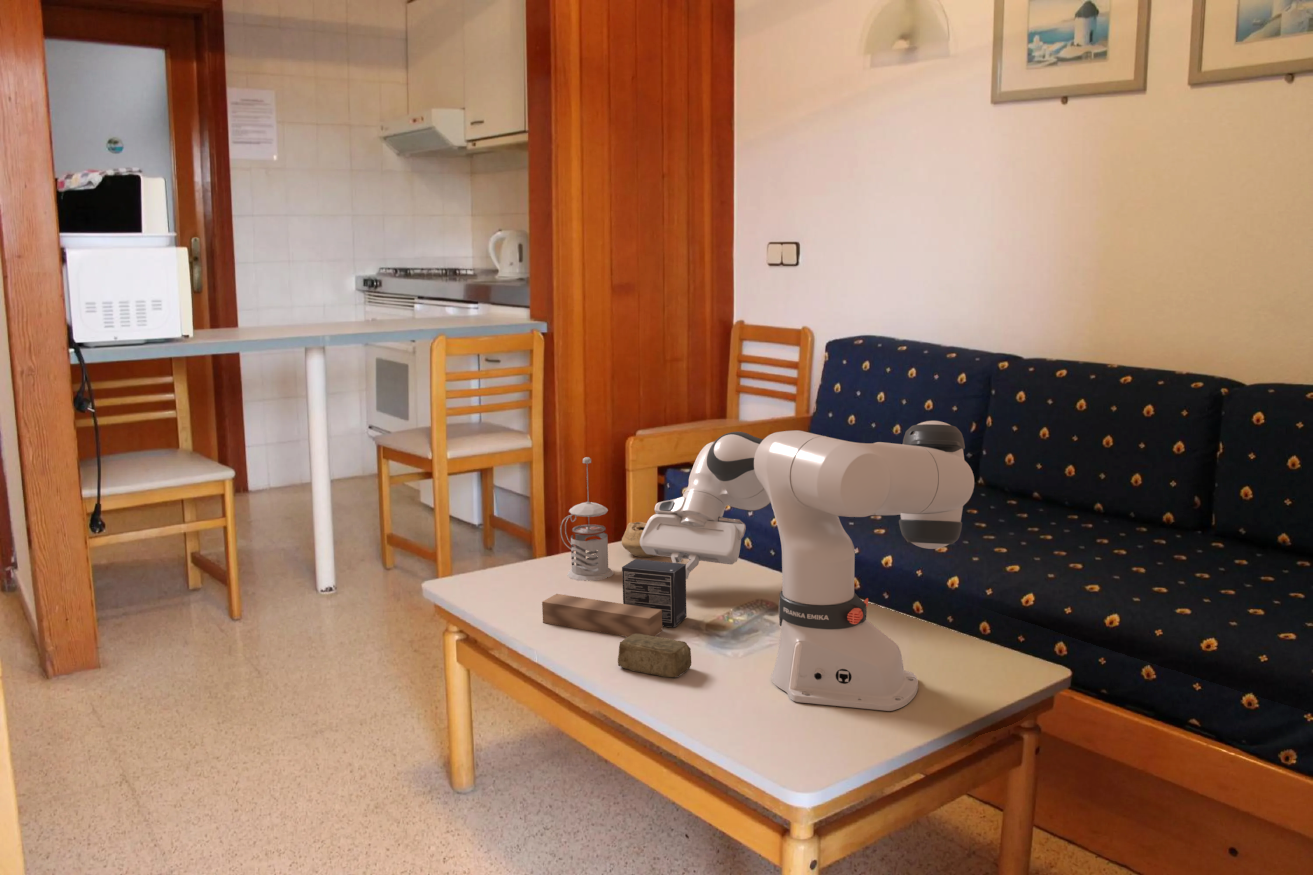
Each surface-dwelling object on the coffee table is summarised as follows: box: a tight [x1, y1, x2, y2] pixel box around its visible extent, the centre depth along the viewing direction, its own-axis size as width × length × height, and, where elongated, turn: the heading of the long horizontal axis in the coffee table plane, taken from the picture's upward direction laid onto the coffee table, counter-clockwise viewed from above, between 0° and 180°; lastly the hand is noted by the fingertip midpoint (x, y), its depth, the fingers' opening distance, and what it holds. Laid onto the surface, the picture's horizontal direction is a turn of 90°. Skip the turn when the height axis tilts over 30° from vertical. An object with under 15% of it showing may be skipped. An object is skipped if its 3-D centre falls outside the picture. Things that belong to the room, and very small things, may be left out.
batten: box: [541, 593, 663, 638], centre depth 194 cm, size 22×5×4 cm, turn 63°
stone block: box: [617, 634, 692, 678], centre depth 175 cm, size 6×12×5 cm, turn 62°
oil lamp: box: [621, 521, 657, 558], centre depth 240 cm, size 11×15×8 cm
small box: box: [621, 558, 688, 628], centre depth 197 cm, size 11×6×10 cm, turn 67°
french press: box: [559, 456, 614, 582], centre depth 225 cm, size 10×12×25 cm
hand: (679, 576), depth 207 cm, fingers closed
